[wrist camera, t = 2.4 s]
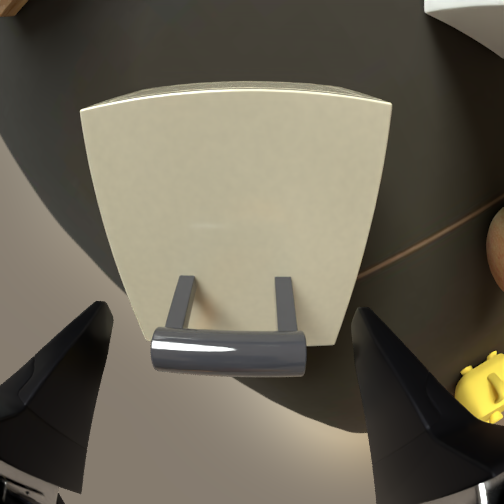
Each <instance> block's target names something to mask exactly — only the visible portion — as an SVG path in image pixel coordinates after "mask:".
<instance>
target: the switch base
mask: <svg viewBox="0 0 504 504" xmlns="http://www.w3.org/2000/svg"><path fill="white" fill-rule="evenodd" d="M27 1H28V0H0V17H6V16H15V15H16V14H17V12H18V11H19V10H20V9H21V8H22V7H23V6H24V5H25V4H26V2H27Z"/></svg>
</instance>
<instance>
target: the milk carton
mask: <svg viewBox="0 0 504 504" xmlns="http://www.w3.org/2000/svg"><path fill="white" fill-rule="evenodd" d="M424 12H425V13H426V14H428V15H430V16H432V17H434V18H436V19H438V20H440V21H442V22H444V23H446V24H448V25H450V26H452V27H454V28H456V29H457V30H459V31H461V32H463V33H464V34H466V35H468V36H470V37H471V38H473V39H475V40H476V41H478V42H479V43H481V44H482V45H484V46H485V47H487V48H489V49H490V50H491V51H493V52H494V53H496V54H497V55H499V56H500V57H501V58H504V0H424Z"/></svg>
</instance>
